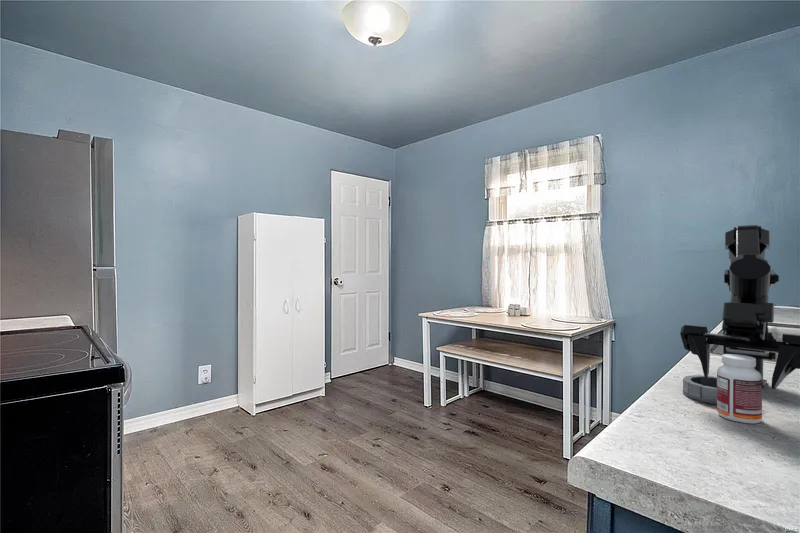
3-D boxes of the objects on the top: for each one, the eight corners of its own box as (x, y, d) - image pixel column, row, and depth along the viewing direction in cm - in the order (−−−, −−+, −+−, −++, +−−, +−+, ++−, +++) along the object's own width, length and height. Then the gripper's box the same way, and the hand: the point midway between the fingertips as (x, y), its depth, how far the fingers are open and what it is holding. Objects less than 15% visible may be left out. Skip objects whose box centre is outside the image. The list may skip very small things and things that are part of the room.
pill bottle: (767, 419, 71) (767, 357, 71) (755, 427, 67) (755, 362, 67) (724, 408, 76) (724, 351, 76) (711, 415, 73) (711, 355, 72)
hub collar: (689, 385, 90) (689, 372, 90) (753, 397, 82) (753, 382, 82) (676, 397, 82) (676, 382, 82) (745, 411, 75) (745, 395, 75)
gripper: (682, 284, 81) (667, 346, 74) (815, 288, 67) (812, 365, 60) (691, 319, 86) (678, 380, 79) (816, 329, 73) (813, 404, 65)
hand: (737, 381), depth 71 cm, fingers open, 9 cm apart
